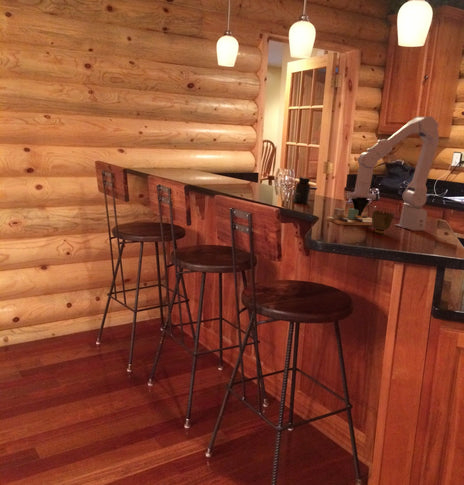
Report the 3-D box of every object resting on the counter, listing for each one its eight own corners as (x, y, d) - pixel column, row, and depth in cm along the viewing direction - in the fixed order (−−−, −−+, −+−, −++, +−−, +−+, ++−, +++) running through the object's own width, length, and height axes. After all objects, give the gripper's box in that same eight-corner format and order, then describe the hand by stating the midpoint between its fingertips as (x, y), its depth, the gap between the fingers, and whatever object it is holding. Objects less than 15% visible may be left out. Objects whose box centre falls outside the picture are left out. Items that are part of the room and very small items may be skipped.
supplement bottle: (292, 202, 243) (296, 177, 240) (294, 200, 249) (298, 176, 246) (306, 204, 241) (310, 179, 238) (308, 203, 247) (312, 178, 245)
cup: (374, 230, 194) (378, 209, 192) (392, 235, 189) (397, 213, 187) (365, 232, 188) (369, 210, 186) (384, 237, 183) (388, 214, 182)
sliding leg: (363, 221, 203) (364, 211, 202) (358, 221, 202) (360, 211, 201) (351, 218, 208) (353, 208, 207) (347, 218, 207) (349, 208, 206)
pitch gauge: (385, 225, 210) (387, 212, 209) (342, 225, 197) (344, 211, 196) (367, 219, 218) (369, 207, 217) (324, 219, 205) (326, 206, 204)
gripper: (368, 181, 212) (362, 214, 215) (343, 180, 204) (337, 214, 207) (381, 184, 206) (375, 218, 209) (355, 183, 198) (349, 217, 201)
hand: (357, 216), depth 207 cm, fingers closed
